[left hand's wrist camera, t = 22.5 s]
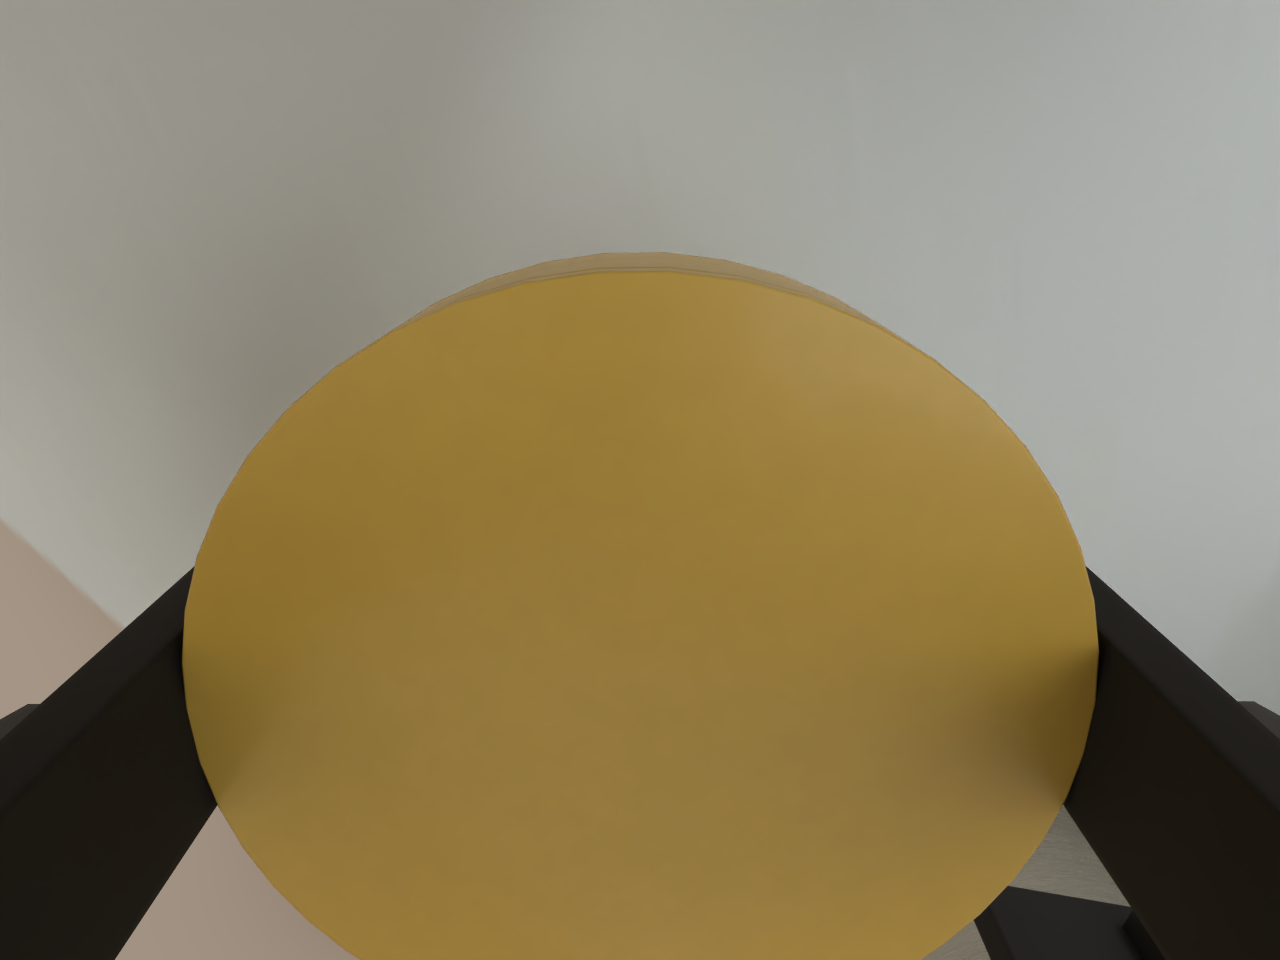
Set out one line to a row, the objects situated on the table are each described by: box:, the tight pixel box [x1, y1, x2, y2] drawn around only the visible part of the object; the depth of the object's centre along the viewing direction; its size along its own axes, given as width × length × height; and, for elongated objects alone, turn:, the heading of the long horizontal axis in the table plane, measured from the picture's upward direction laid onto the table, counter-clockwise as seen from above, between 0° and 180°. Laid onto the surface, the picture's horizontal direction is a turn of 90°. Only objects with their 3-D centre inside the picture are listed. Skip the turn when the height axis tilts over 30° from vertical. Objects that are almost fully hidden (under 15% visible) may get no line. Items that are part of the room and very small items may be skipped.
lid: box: [182, 252, 1099, 960], centre depth 11 cm, size 12×12×2 cm
